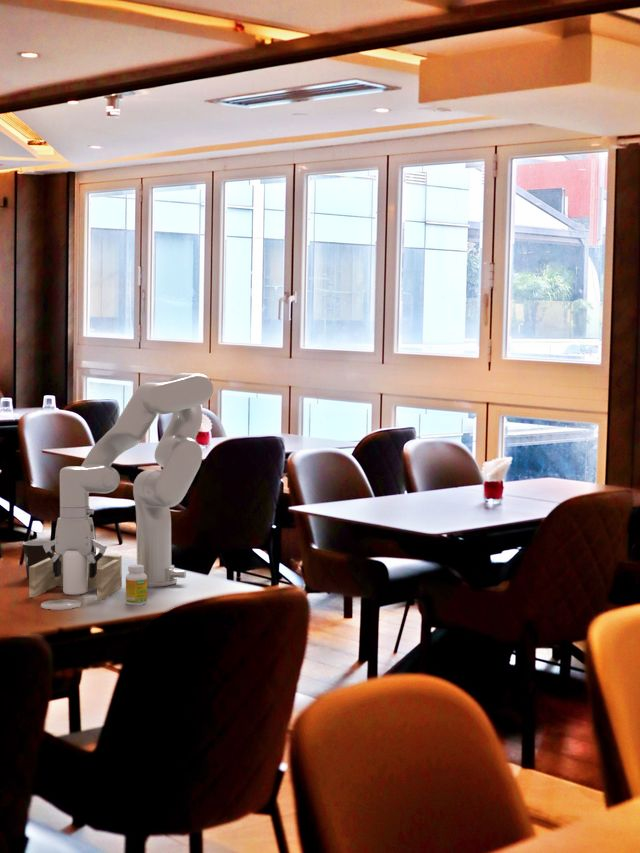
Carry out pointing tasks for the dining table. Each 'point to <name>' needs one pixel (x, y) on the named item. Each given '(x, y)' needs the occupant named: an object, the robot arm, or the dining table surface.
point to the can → (75, 573)
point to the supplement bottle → (136, 585)
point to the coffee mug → (34, 553)
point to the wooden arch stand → (104, 580)
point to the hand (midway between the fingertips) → (75, 576)
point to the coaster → (60, 604)
